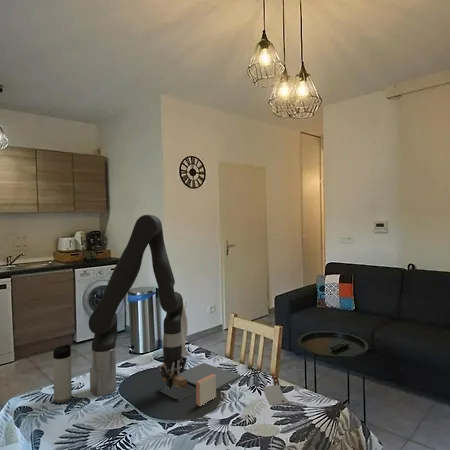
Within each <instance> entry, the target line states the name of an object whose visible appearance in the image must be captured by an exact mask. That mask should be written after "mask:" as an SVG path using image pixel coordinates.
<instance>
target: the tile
mask: <svg viewBox="0 0 450 450" xmlns="http://www.w3.org/2000/svg"><path fill="white" fill-rule="evenodd" d="M195 388H196V389H195V396H196V397H195V398H196V399H195V400H196V401H195V402H196V404H197V405H198V406H201V407H202V405H203V406H204V405H206V404H208V403H209V402H208V401H210V400H212V399H213V400H215V399H216V398H217V391H216V375H215V374H211V375H209V376H207V377H205V378H203V379H201V380H199V381H197V382H196V387H195ZM215 397H216V398H215ZM214 398H215V399H214ZM213 400H212V401H213ZM207 402H208V403H207ZM210 402H211V401H210ZM205 403H206V404H205ZM196 404H195V405H196ZM198 406H197V407H198Z"/></svg>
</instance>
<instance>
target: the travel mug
mask: <svg viewBox="0 0 450 450" xmlns="http://www.w3.org/2000/svg"><path fill="white" fill-rule="evenodd" d="M52 352H53V357H52V361H53V362H52V363H53V365H52V366H53V367H52V368H53V369H52V370H53V401H54V402H55V403H58V404H59V403H66V402H68V401H70V400H71V399H72V396H73V395H72V394H73V393H72V392H73V391H72V348H71V344H65V345H61V346H58V347H56V348H54V349H53V351H52Z"/></svg>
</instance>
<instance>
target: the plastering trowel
mask: <svg viewBox="0 0 450 450" xmlns="http://www.w3.org/2000/svg"><path fill="white" fill-rule="evenodd" d="M161 380H162V381H163V382H165V383H167V379H165V378H163V377H162V376H161ZM173 385H174V386H176V387H179V388H181V389H185V388H186V387H187V385H188V383H187V379H186V378H183V377H181V376H179V375H176V374H174V372H173V373H172V388H168V389H170V390H171V389H173Z"/></svg>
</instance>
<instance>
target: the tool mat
mask: <svg viewBox="0 0 450 450" xmlns="http://www.w3.org/2000/svg"><path fill="white" fill-rule="evenodd" d="M211 374H215V375H216V389H219V390H220V389H223V388H224V387H226V386H228V385H230V384H231V383H234V382H235V381H237V380H239V379H241V375H239V374H237V373H233V372H231V371H228V370H225V369H222V368H220V367H216V366H214V365H211V364H208V363H206V362H202V363H200V364H198V365H195V366H194V367H193V366H192V367H190V368H188V369H186V370H183V373H180V375H179V376H181V377H183V378H186V379H187V381H188V382H191V383H193V384H196V382H197V381H199V380H201V379H203V378H205V377H207V376H209V375H211Z"/></svg>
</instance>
